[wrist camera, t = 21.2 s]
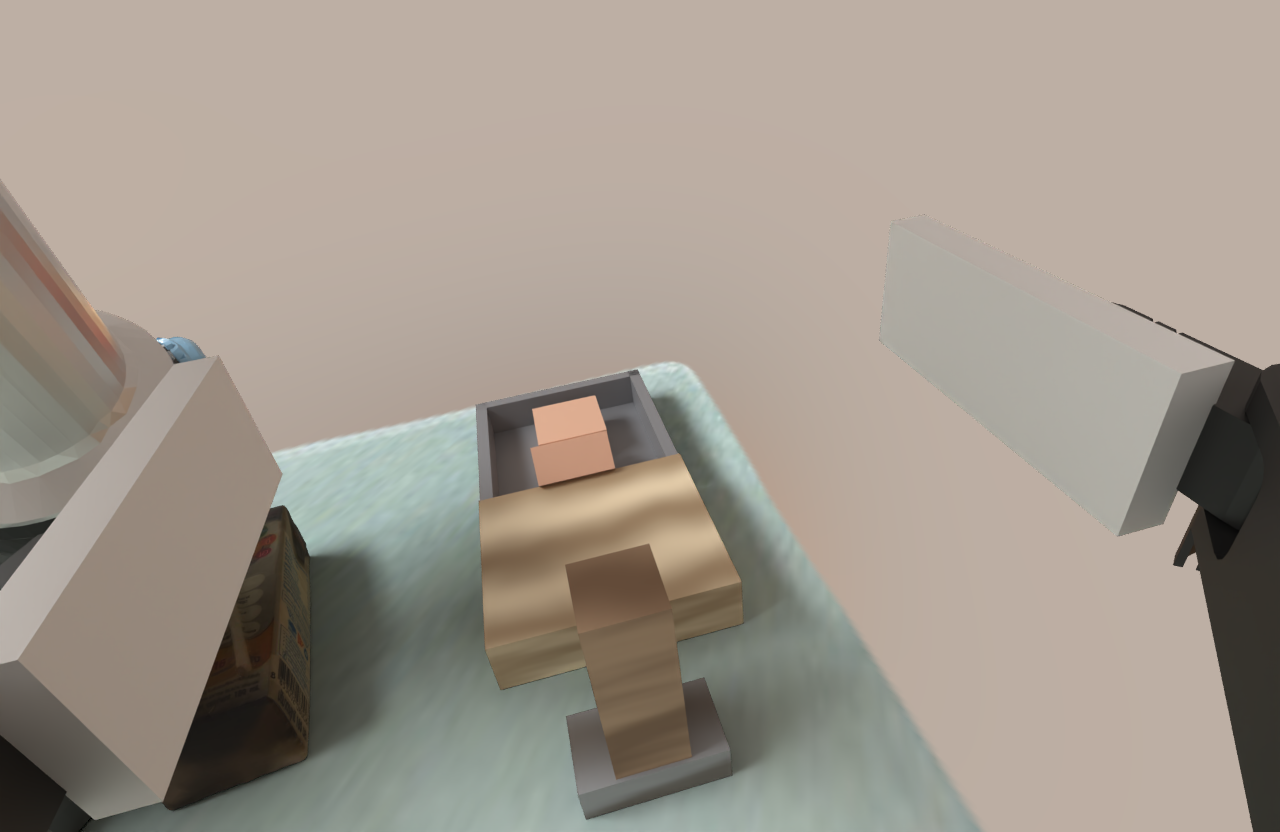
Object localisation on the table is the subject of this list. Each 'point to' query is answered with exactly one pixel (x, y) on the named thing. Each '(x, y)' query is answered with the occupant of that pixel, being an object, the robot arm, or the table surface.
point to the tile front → (572, 458)
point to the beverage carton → (255, 676)
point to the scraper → (636, 691)
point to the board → (586, 528)
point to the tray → (511, 419)
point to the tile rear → (568, 420)
